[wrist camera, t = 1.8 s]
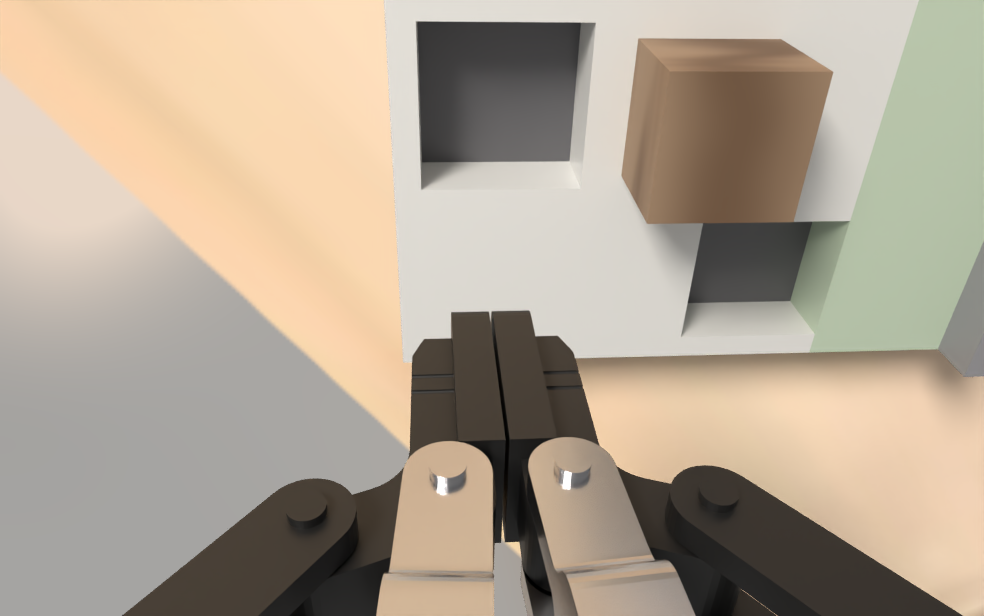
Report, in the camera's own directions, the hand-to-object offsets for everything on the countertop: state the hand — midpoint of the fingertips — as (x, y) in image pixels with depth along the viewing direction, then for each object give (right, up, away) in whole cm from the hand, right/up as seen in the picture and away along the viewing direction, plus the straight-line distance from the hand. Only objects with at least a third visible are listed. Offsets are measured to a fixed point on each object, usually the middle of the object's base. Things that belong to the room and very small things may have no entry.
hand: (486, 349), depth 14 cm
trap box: (+9, +7, +17) cm, 20 cm away
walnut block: (+8, +8, +13) cm, 17 cm away
